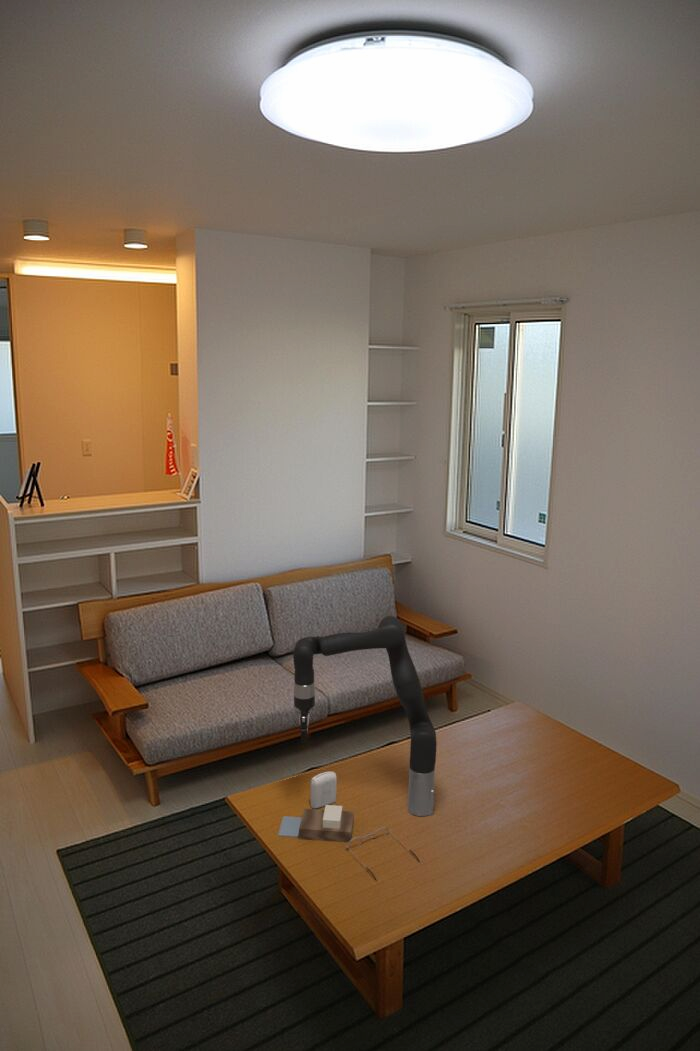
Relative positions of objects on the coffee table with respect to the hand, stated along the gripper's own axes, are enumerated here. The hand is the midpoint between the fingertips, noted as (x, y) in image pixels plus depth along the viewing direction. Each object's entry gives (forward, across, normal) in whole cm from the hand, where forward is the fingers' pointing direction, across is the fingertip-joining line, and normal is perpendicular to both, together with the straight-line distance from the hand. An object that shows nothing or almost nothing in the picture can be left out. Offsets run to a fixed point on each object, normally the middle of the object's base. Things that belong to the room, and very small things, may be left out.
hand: (304, 734), depth 275 cm
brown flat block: (+28, -16, -8) cm, 33 cm away
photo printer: (+29, +1, -7) cm, 29 cm away
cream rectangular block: (+23, -16, -10) cm, 30 cm away
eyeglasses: (+29, -29, -27) cm, 50 cm away
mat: (+28, -14, +5) cm, 32 cm away
